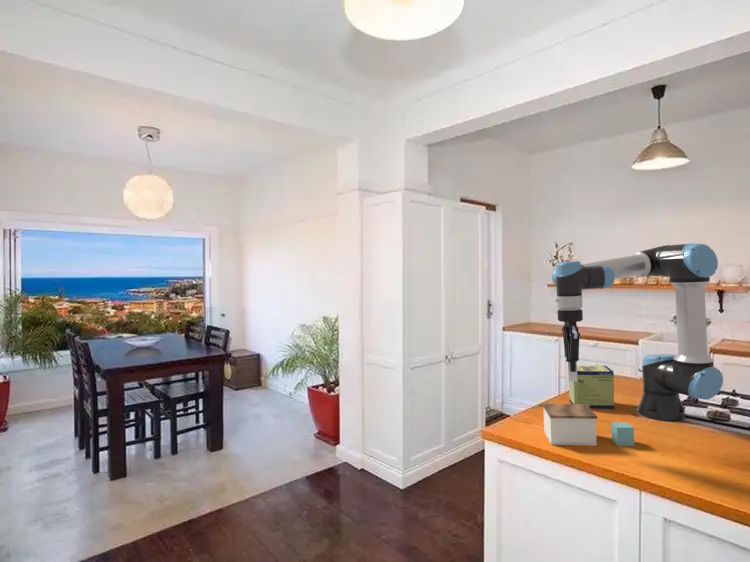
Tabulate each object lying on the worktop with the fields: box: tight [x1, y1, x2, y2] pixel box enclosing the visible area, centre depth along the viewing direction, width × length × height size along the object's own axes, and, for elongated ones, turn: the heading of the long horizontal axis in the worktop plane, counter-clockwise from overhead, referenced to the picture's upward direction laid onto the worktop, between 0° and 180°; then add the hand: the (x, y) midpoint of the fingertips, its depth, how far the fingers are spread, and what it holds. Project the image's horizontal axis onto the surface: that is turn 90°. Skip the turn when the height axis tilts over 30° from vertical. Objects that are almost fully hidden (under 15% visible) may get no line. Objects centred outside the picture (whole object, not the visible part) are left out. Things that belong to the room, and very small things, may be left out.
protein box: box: [568, 365, 615, 410], centre depth 191 cm, size 10×16×16 cm
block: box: [611, 421, 635, 447], centre depth 150 cm, size 5×5×6 cm
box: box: [538, 403, 597, 447], centre depth 156 cm, size 17×12×10 cm
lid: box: [542, 403, 598, 420], centre depth 155 cm, size 14×13×1 cm
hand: (572, 380), depth 149 cm, fingers closed
